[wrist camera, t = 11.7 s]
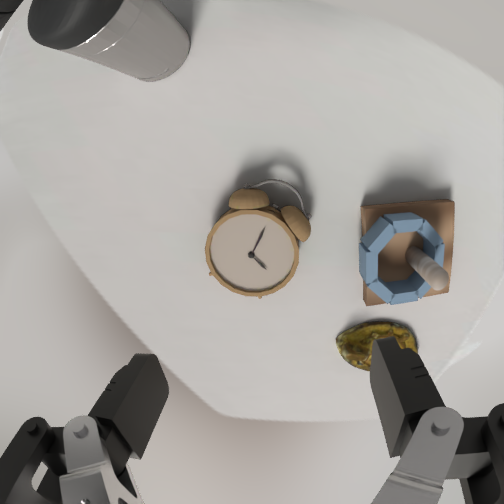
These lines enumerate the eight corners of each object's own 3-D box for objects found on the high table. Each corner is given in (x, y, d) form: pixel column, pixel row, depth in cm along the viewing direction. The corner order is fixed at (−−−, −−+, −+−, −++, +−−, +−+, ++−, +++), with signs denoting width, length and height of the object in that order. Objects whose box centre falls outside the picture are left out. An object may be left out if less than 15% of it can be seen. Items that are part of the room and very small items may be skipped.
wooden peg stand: (360, 206, 35) (386, 226, 26) (447, 199, 33) (489, 215, 24) (363, 299, 39) (382, 340, 30) (442, 286, 37) (475, 320, 28)
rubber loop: (357, 216, 34) (365, 223, 30) (433, 210, 32) (445, 216, 29) (359, 295, 37) (365, 308, 34) (428, 285, 36) (439, 296, 32)
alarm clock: (191, 274, 38) (235, 167, 30) (203, 255, 42) (244, 158, 34) (271, 311, 38) (332, 214, 31) (275, 289, 42) (329, 199, 35)
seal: (425, 323, 41) (343, 311, 41) (438, 337, 37) (350, 325, 37) (404, 371, 43) (325, 363, 44) (413, 387, 39) (329, 381, 39)
